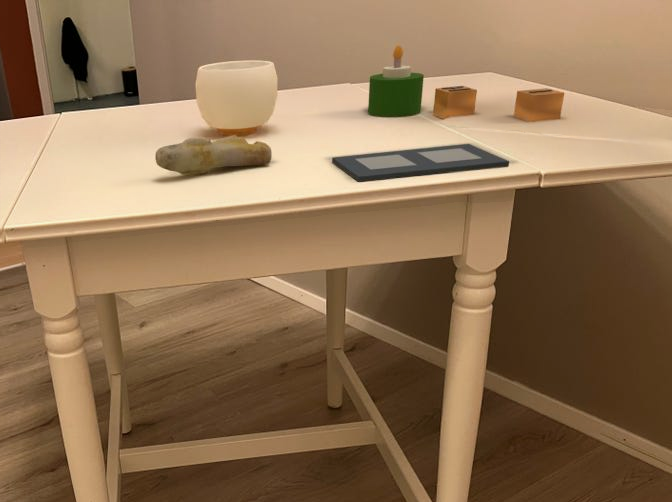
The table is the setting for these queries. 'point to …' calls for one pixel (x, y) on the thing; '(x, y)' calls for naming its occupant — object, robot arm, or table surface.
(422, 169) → the word mat
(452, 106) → the tile
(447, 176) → the table surface
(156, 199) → the table surface
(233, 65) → the cup
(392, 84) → the candle
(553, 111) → the tile
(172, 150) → the figurine
